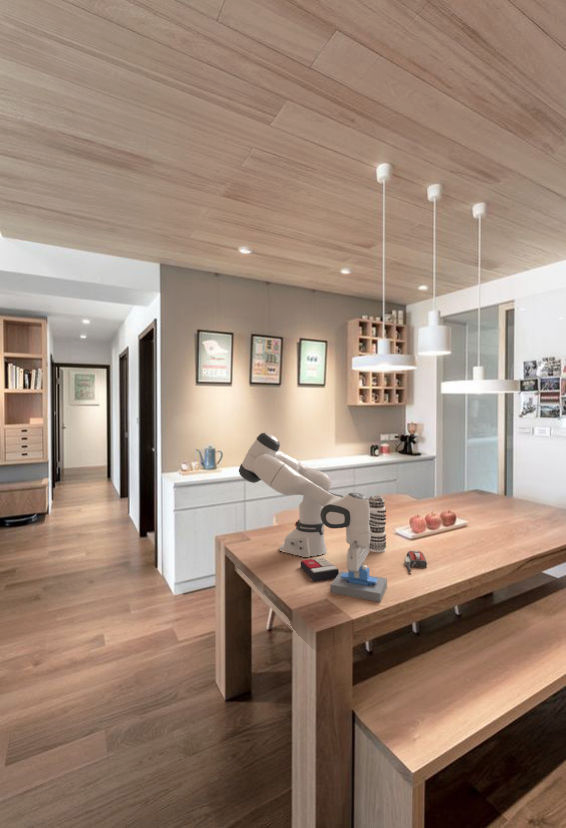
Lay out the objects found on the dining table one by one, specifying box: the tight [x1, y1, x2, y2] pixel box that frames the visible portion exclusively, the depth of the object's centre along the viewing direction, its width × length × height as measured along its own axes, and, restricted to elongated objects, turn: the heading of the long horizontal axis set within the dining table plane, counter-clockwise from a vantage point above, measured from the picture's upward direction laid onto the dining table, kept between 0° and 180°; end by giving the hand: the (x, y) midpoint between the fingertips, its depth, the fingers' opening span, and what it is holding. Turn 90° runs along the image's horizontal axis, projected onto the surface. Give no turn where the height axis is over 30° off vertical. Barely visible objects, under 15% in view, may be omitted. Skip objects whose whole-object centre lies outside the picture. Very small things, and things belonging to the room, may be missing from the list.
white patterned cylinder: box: [367, 495, 387, 553], centre depth 186 cm, size 9×9×25 cm
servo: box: [341, 565, 378, 586], centre depth 145 cm, size 13×4×8 cm, turn 65°
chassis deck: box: [330, 570, 388, 603], centre depth 145 cm, size 18×13×3 cm
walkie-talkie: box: [404, 550, 428, 573], centre depth 167 cm, size 9×4×20 cm
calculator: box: [300, 556, 340, 583], centre depth 161 cm, size 11×4×15 cm
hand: (358, 574), depth 145 cm, fingers closed on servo, 3 cm apart
